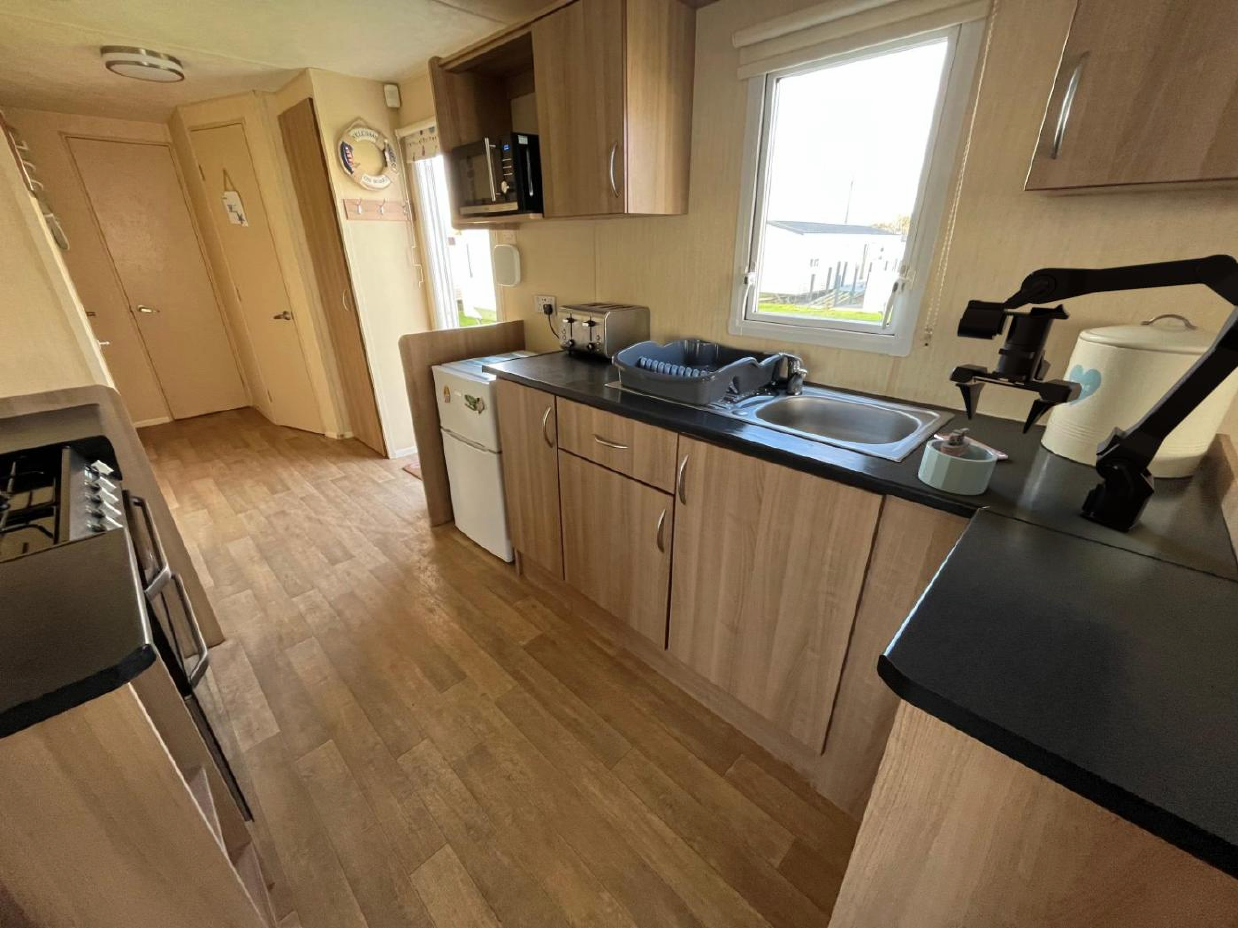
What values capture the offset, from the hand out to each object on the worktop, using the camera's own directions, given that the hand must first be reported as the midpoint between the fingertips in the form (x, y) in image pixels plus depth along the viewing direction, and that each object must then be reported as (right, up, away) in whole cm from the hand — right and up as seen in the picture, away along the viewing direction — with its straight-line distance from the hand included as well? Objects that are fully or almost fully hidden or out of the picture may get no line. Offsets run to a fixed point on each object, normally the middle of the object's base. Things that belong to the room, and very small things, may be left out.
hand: (996, 426), depth 93 cm
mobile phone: (+11, -3, +23) cm, 25 cm away
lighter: (-6, -10, +6) cm, 13 cm away
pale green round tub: (-5, -11, +6) cm, 13 cm away
